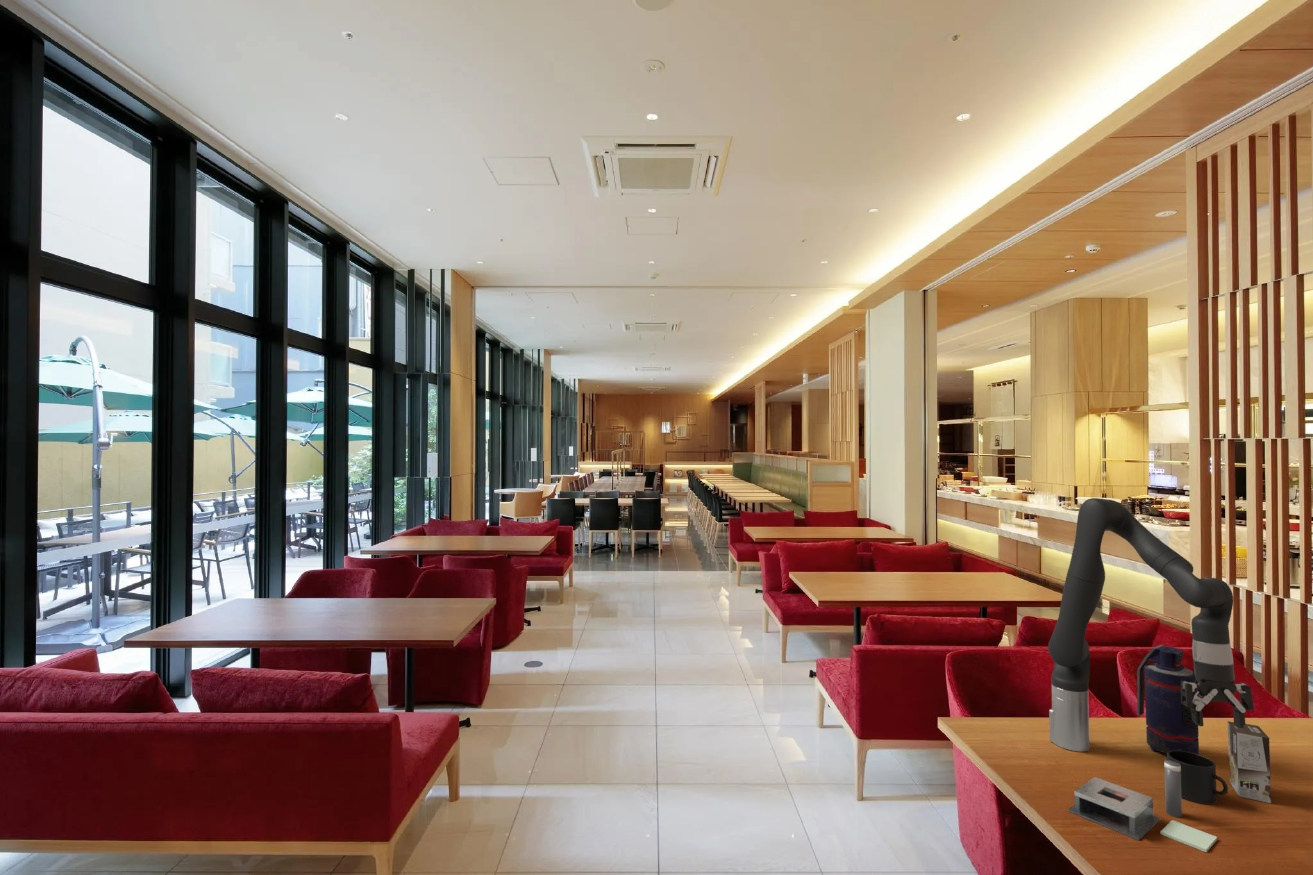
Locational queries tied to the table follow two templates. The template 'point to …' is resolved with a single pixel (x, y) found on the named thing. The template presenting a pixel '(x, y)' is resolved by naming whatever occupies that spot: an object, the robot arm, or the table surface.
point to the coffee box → (1249, 762)
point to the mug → (1197, 777)
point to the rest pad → (1189, 836)
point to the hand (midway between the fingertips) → (1218, 725)
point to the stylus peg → (1173, 788)
